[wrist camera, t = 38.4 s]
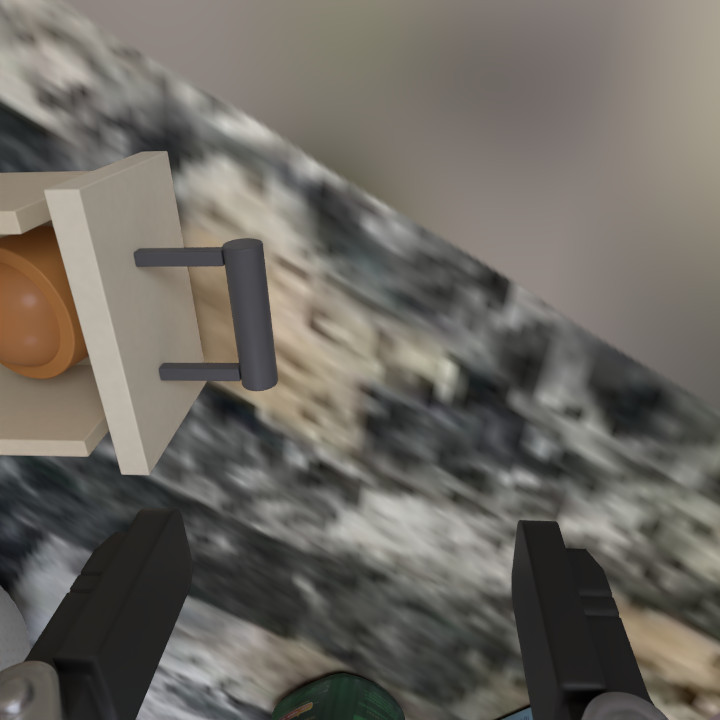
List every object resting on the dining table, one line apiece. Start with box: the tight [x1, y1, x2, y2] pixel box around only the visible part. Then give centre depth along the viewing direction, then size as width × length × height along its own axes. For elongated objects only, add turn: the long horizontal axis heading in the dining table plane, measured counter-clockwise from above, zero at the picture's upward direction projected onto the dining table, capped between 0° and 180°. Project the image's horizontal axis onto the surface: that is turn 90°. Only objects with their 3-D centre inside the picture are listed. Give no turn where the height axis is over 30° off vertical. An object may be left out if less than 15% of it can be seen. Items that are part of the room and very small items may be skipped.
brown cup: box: [0, 226, 89, 379], centre depth 26 cm, size 6×6×5 cm
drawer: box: [0, 151, 278, 475], centre depth 25 cm, size 18×11×8 cm, turn 92°
